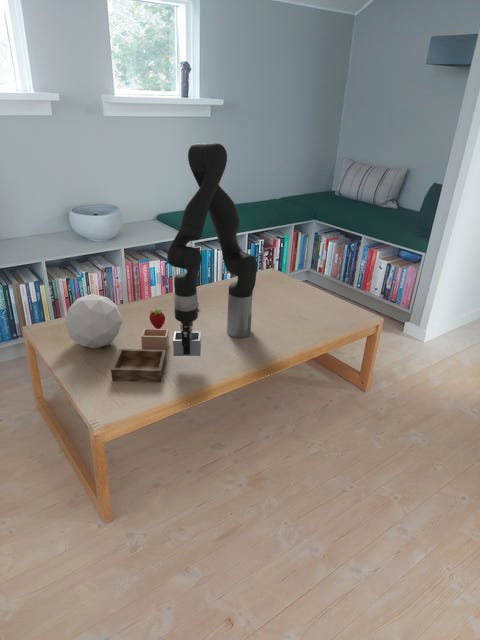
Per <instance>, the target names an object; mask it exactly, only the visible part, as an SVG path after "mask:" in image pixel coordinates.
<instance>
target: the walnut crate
mask: <svg viewBox="0 0 480 640" xmlns="http://www.w3.org/2000/svg"><path fill="white" fill-rule="evenodd" d="M166 364H167V351H166V350H144V349H142V348H140V349H139V348H138V349H137V348H119V349H118V352H117V355H116V357H115V360H114V362H113V364H112V367H111V369H110V372H111V381H112V382H135V383H137V382H139V383H162V382H161V381H163V377H164V373H165V367H166Z"/></svg>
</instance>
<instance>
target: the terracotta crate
mask: <svg viewBox="0 0 480 640" xmlns="http://www.w3.org/2000/svg"><path fill="white" fill-rule="evenodd" d="M169 334H170V333H169V329H168V328H160V329H156V328H143V330H142V333H141V338H140V339H141V349H144V350H166V352H168V348H169V344H170V340H169V339H170V338H169V337H170V336H169Z"/></svg>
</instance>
